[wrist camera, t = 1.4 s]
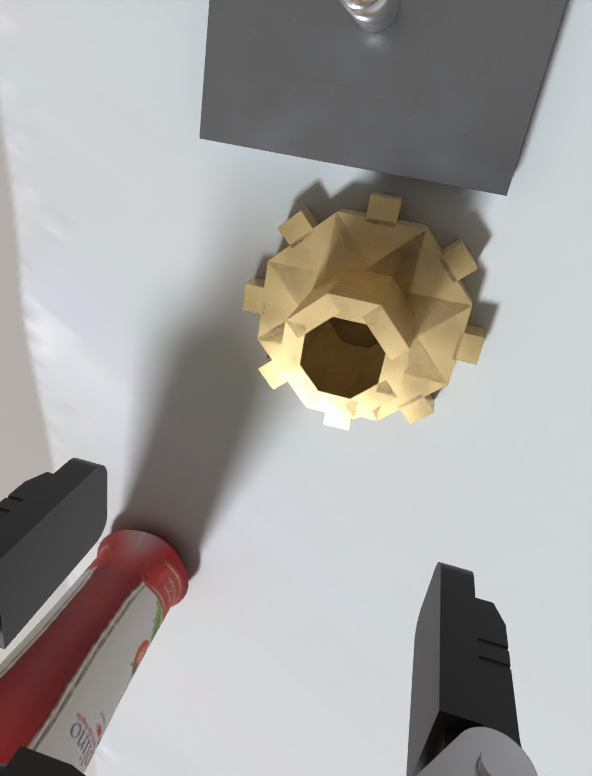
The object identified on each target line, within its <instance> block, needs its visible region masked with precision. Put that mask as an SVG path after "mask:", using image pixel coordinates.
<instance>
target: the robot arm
mask: <svg viewBox="0 0 592 776" xmlns="http://www.w3.org/2000/svg"><path fill="white" fill-rule="evenodd" d="M106 520H107V470H106V468H105V466H103V465H99V464H96V463H92V462H89V461H85V460H82V459H78V458H73V459H71V460H69V461H68V462H67V463H66V464H64V465H63V466H62V467H61V468H60V469H59V470H58V471H56V472H55V473H54V474H52V473H49V472H46V473H44V474H41V475H39V476H37V477H34V478H32V479H30V480H27V481H25V482H24V483H23V484H22V485H20V486H19V487H18V488H17V489H15V490H14V491H13V492H12V493H11V494H9V496H8V498H4V499H3V500H2V501H1V502H0V648H2V649H5V648H6V647H7V646H8V645H9V644H10V642H11V641H12V640H13V639H14V638H15V637H16V635H17V634H18V633H19V632H20V631H21V630H22V628H23V627H24V626H25V625H26V624H27V623H28V621H29V620H30V619H31V618H32V617H33V616H34V615H35V613H36V612H37V611H38V610H39V609H40V607H41V606H42V605H43V604H44V603H45V602H46V601H47V599H48V598H49V597H50V596H51V595H52V593H53V592H54V591H55V590H56V589H57V588H58V586H59V585H60V584H61V583H62V582H63V581H64V580H65V578H66V577H67V576H68V575H69V574H70V573H71V571H72V570H73V569H74V568H75V567H76V566H77V564H78V563H79V562H80V561H81V560H82V559H83V557H84V556H85V555H86V554H87V553H88V552H89V550H90V549H91V548H92V547H93V546H94V545H95V543H96V542H97V541H98V540H99V538H100V536H101V534H102V532H103V530H104V527H105V524H106ZM0 776H85V775H84V774H83V773H82V772H80V771H79V770H78V769H77V768H76V767H74V766H73V765H71V764H69V763H66V762H63V761H61V760H58V759H55V758H53V757H50V756H47V755H45V754H42V753H39V752H37V751H34V750H31V749H29V748H26V747H23V746H21V745H20V747H19V748H18V750H17V751H16V753H15V754H14V755H13V757H12V758H11V760H10V761H9V763H8V764H0ZM406 776H538V775H537V772H536V770H535V767H534V765H533V764H532V762H531V760H530V758H529V757H528V756H527V754H526V753H525V752H524V750H523V749H522V747H521V743H520V738H519V730H518V722H517V714H516V706H515V698H514V689H513V681H512V673H511V670H510V657H509V651H508V641H507V633H506V625H505V623H504V621H503V620H502V618H501V616H500V614H499V612H498V611H497V609H496V607H495V605H494V603H492V602H488V601H485V600H482V599H478V598H475V586H474V575H473V572H472V571H469V570H465V569H462V568H458V567H455V566H451V565H448V564H444V563H441V562H438V564H437V565H436V568H435V570H434V573H433V576H432V579H431V582H430V585H429V587H428V590H427V593H426V596H425V599H424V602H423V605H422V607H421V610H420V614H419V618H418V622H417V627H416V633H415V642H414V659H413V675H412V692H411V709H410V725H409V742H408V758H407V775H406Z"/></svg>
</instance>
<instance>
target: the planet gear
mask: <svg viewBox="0 0 592 776" xmlns="http://www.w3.org/2000/svg"><path fill="white" fill-rule="evenodd" d="M402 202H403V197H399V196H393V195H388V194H383V193H378V192H373V193H372V194H371V195H370V199H369V204H368V209H367V213H365V212H360V211H355V210H350V209H345V208H341V209H340V210H338V211H337V212H335V213H334V214H333V215H331V216H330V217H328V218H327V219H326V220H324V221H323V222H321V223H320V224H319V223H318V222H317V220H316V219H315V217H314V215H313V214H312V212H311V211H310V209H309V208H308V207H306V208H304V209H303V210H301V211H299V212H298V213H297V214H295V215H294V216H293V217H291V218H290V219H288V220H287V221H286V222H284V223H283V224H282V225H280V226H279V227H278V229H279V230H280V232H281V233H282V235H283V236H284V238H285V239H286V241H287V242H288V244H289V246H288V247H287V248H285V249H284V250H282V251H281V252H280V253H278V254H277V255H275V256H274V257H273V258H271V259H270V260H268V263H267V270H266V277H265V279H261V278H256V277H254V278H252V279H251V280H250V281H248V282H247V283H246V284H245V290H244V299H243V307H242V310H245V311H249V312H253V313H257V314H261V315H260V322H259V330H258V337H257V339H258V341H259V342H260V343H261V345H262V346H263V348H264V349H265V350H266V352H267V353H268V355H269V356H270V357H268V358H267V359H266V360H265V361H264V362H263V363H262V365H261V366H260V367H259V368H258V369H259V371H260V372H261V374H262V375H263V376H264V378H265V379H266V380H267V382H268V383H269V385H270V386H271V387H272V389H275V388H277V387H278V386H280V385H282V384H284V383H285V382H287V381H288V382H289V384H290V385H291V387H292V388H293V389H294V391H295V392H296V394H297V395H298V396H299V398H300V399H301V401H302V402H303V403H304V404H305V406H306V407H308V408H312V409H316V410H320V411H324V412H326V413H325V418H324V423H323V424H326V425H330V426H334V427H338V428H342V429H346V430H349V427H350V424H351V421H352V419H356V418H358V417H360V416H361V417H365V418H369V419H373V420H377V421H378V420H380V419H382V418H384V417H386V416H388V415H390V414H392V413H394V412H395V411H397V410H399V409H400V410H401V412H402V413H403V415H404V416H405V418H406V419H407V421H408V422H409V424H412V423H414V422H416V421H418V420H420V419H422V418H424V417H426V416H428V415H430V414H432V413H434V399H433V397H432V396H431V393H433V392H435V391H437V390H439V389H441V388H443V387H445V386H447V385H448V383H449V380H450V377H451V374H452V370H453V367H454V364H455V361H456V360H459V361H463V362H467V363H472V364H476V365H477V362H478V359H479V355H480V352H481V349H482V346H483V343H484V340H485V334H484V329H483V328H480V327H476V326H471V325H467V322H468V319H469V315H470V312H471V309H472V299H471V296H470V295H469V293H468V291H467V290H466V288H465V286H464V285H463V283H462V281H461V280H460V279H462V278H464V277H465V276H467V275H469V274H470V273H472V272H474V271H475V270H477V265H476V262H475V260H474V258H473V257H472V255H471V253H470V252H469V250H468V248H467V247H466V245H465V243H464V242H463V240H462V238H459V239H458V240H456V241H455V242H453V243H451V244H450V245H448V246H447V247H445V248H443V249H441V247H440V245H439V244H438V242H437V240H436V239H435V237H434V235H433V234H432V232H431V230H430V229H429V227H428V226H427V225H425V224H420V223H415V222H410V221H405V220H400V219H399V215H400V210H401V206H402ZM331 317H336V318H340V319H345V320H349V321H353V322H358V323H362V324H367V326H368V327H369V329H370V330H371V332H372V333H373V335H374V336H375V338H376V339H377V341H378V343H376V344H375V345H373V346H371V347H370V348H367V347H363V346H359V345H354V344H350V343H346V342H343V341H342V340H341V338H340V337H339V335H338V334H337V332H336V331H335V329H334V328H333V326H332V325H331V323H330V322H329V321H328V319H330V318H331Z"/></svg>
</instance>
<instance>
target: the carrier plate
mask: <svg viewBox="0 0 592 776" xmlns="http://www.w3.org/2000/svg"><path fill="white" fill-rule="evenodd" d="M566 2H567V0H210V1H209V15H208V28H207V42H206V56H205V70H204V84H203V98H202V111H201V125H200V138H201V139H206V140H211V141H217V142H222V143H227V144H233V145H238V146H243V147H249V148H254V149H259V150H265V151H270V152H275V153H281V154H286V155H291V156H297V157H302V158H307V159H313V160H318V161H323V162H329V163H334V164H339V165H345V166H350V167H355V168H361V169H366V170H371V171H377V172H382V173H387V174H393V175H398V176H403V177H409V178H414V179H420V180H425V181H430V182H436V183H441V184H446V185H452V186H457V187H462V188H468V189H473V190H478V191H484V192H489V193H494V194H500V195H505V196H507V192H508V189H509V186H510V183H511V180H512V176H513V173H514V170H515V167H516V163H517V160H518V157H519V154H520V150H521V147H522V144H523V141H524V137H525V134H526V131H527V128H528V125H529V121H530V118H531V115H532V112H533V108H534V105H535V102H536V99H537V95H538V92H539V89H540V86H541V82H542V79H543V76H544V73H545V70H546V66H547V63H548V60H549V57H550V53H551V50H552V47H553V44H554V40H555V37H556V34H557V31H558V27H559V24H560V21H561V18H562V15H563V11H564V8H565V5H566Z"/></svg>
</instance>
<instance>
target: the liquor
mask: <svg viewBox="0 0 592 776" xmlns="http://www.w3.org/2000/svg"><path fill="white" fill-rule="evenodd" d="M187 589H188V575H187V571H186V568H185V566H184V564H183V562H182V560H181V559H180V557H179V556H178V554H177V552H176V551H175V549H174V548H173V547H172V546H171V545H170V544H169V543H168V542H167V541H166V540H165V539H163V538H161V537H160V536H158V535H155V534H153V533H149V532H143V531H137V530H120V531H116V532H113V533H111V534H109V535H108V536H106V537H105V538H104V539H103V540H102V542H101V543H100V545H99V548H98V553H97V558H96V559H95V560H94V561H93V562H92V564H91V565H90V566H89V567H88V568H87V569H86V570H85V572H84V573H83V574H82V575H81V576H80V577H79V578H78V580H77V581H76V582H75V583H74V584H73V585H72V586H71V588H70V589H69V590H68V591H67V592H66V593H65V594H64V596H63V597H62V598H61V599H60V600H59V601H58V602H57V603H56V604H55V605H54V607H53V608H52V609H51V610H50V611H49V612H48V613H47V614H46V616H45V617H44V618H43V619H42V620H41V621H40V622H39V623H38V624H37V625H36V626H35V628H34V629H33V630H32V631H31V632H30V633H29V634H28V635H27V636H26V638H25V639H24V640H23V641H22V642H21V643H20V644H19V645H18V646H17V647H16V648H15V649H14V650H13V651H12V653H10V654H9V655H8V657H7V658H6V659H5V660H4V661H3V662H2V663H1V664H0V764H8V763H9V761H10V760H11V758H12V757H13V755H14V754H15V753H16V751H17V750H18V748H19V747H20V745H21V746H23V747H26V748H29V749H31V750H34V751H37V752H39V753H42V754H45V755H47V756H50V757H53V758H55V759H58V760H61V761H63V762H66V763H69V764H71V765H73V766H74V767H76V768H77V769H78V770H79V771H80V772H82V773H83V774H84V772H85V770H86V768H87V766H88V764H89V762H90V760H91V758H92V756H93V754H94V752H95V750H96V748H97V746H98V744H99V742H100V740H101V738H102V736H103V734H104V732H105V730H106V728H107V726H108V724H109V722H110V720H111V718H112V716H113V714H114V712H115V710H116V708H117V706H118V704H119V702H120V700H121V698H122V696H123V694H124V692H125V691H126V689H127V687H128V685H129V683H130V681H131V679H132V677H133V675H134V674H135V672H136V670H137V668H138V666H139V664H140V662H141V660H142V658H143V657H144V655H145V653H146V651H147V649H148V647H149V645H150V643H151V642H152V640H153V638H154V636H155V634H156V633H157V631H158V629H159V627H160V625H161V624H162V622H163V620H164V618H165V616H166V614H167V613H168V611H169V609H170V607H172V606H174V605H176V604H177V603H179V602H180V601H181V600H182V599H183V598H184V596H185V595H186V593H187Z"/></svg>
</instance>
